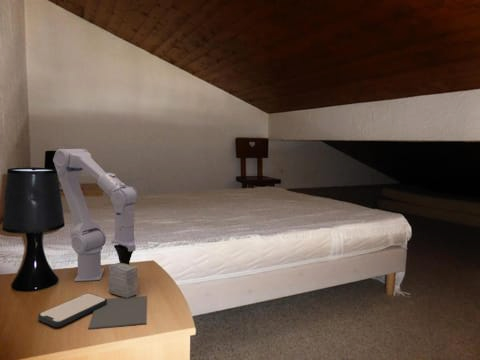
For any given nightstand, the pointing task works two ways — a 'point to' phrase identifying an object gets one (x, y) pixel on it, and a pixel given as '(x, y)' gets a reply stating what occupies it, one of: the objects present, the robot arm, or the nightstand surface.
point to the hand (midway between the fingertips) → (124, 266)
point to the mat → (120, 313)
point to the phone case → (72, 309)
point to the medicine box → (123, 280)
